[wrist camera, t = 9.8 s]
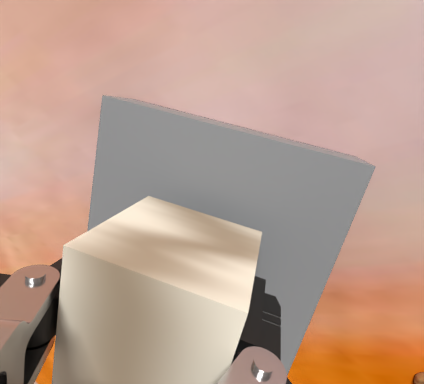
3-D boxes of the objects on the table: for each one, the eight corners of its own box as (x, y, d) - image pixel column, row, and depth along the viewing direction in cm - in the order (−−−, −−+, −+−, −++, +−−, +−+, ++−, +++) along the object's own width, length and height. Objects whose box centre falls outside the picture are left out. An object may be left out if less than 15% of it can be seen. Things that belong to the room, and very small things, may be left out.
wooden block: (262, 231, 11) (248, 313, 7) (230, 329, 13) (201, 452, 8) (148, 195, 12) (63, 245, 7) (131, 291, 14) (51, 384, 9)
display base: (356, 156, 14) (375, 166, 11) (281, 344, 17) (281, 388, 15) (134, 99, 16) (102, 95, 13) (108, 279, 19) (79, 306, 16)
